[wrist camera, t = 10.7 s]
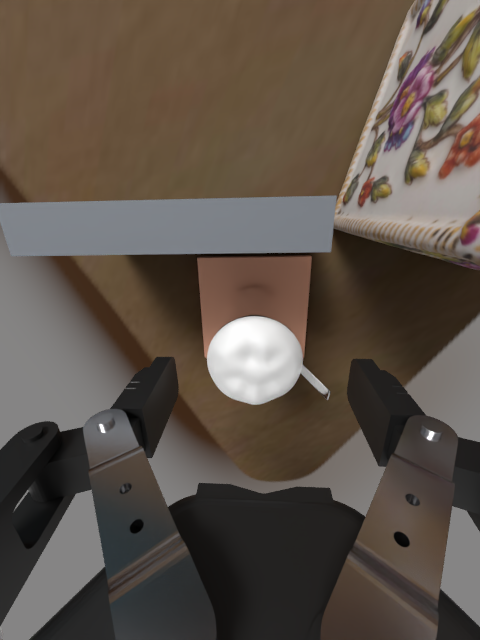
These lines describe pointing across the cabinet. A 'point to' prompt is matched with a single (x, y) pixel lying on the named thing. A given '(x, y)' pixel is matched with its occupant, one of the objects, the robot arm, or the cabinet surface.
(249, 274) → the mat
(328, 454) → the cabinet surface
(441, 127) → the decorative jar
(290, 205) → the screen
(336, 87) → the cabinet surface
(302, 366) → the milkshake
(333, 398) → the cabinet surface
